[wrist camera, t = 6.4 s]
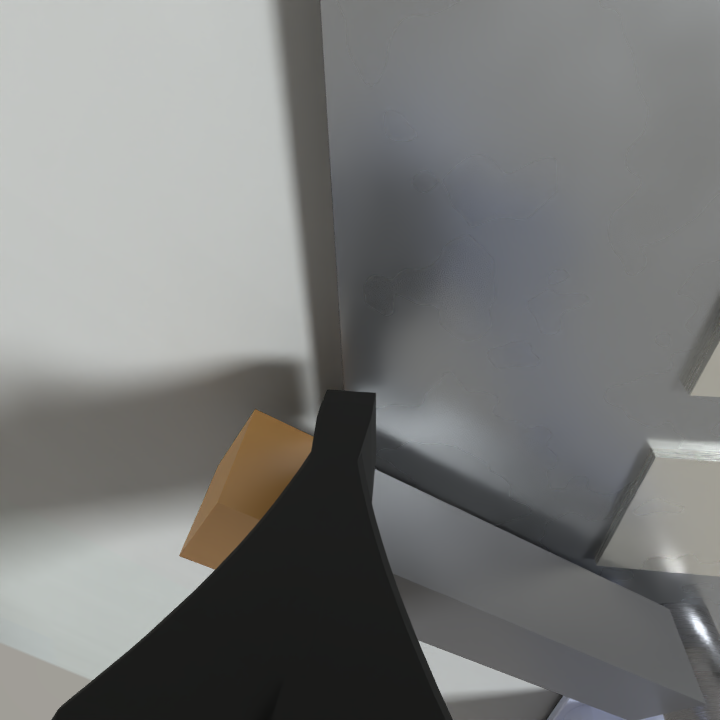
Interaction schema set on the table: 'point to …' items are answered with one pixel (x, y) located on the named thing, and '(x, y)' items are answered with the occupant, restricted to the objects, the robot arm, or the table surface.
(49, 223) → the table surface
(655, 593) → the grey lever board
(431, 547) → the swing bar
